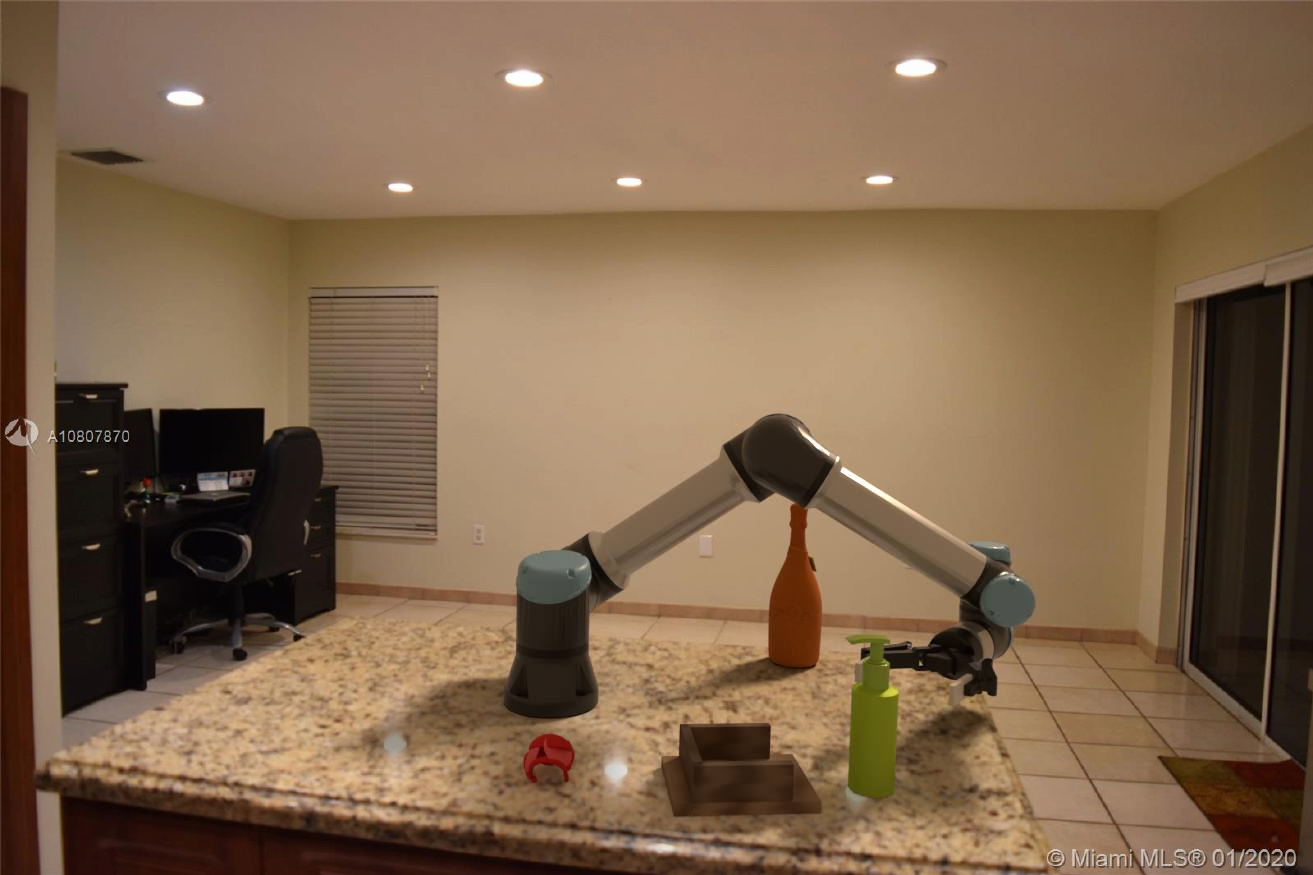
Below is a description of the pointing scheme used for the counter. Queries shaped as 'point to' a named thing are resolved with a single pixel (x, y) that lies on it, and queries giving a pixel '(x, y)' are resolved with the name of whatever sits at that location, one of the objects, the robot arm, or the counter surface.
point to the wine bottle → (795, 603)
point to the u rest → (734, 773)
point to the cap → (549, 755)
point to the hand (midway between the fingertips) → (902, 684)
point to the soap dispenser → (873, 724)
